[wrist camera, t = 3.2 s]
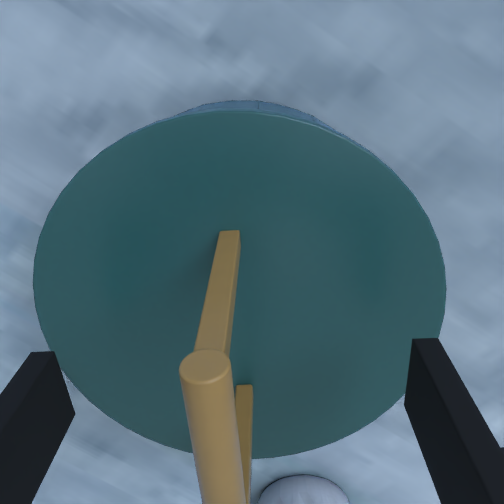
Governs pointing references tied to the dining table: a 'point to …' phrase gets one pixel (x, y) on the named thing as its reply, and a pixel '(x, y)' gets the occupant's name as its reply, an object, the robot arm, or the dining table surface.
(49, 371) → the robot arm
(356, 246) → the tin lid
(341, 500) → the cupcake
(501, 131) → the dining table surface
